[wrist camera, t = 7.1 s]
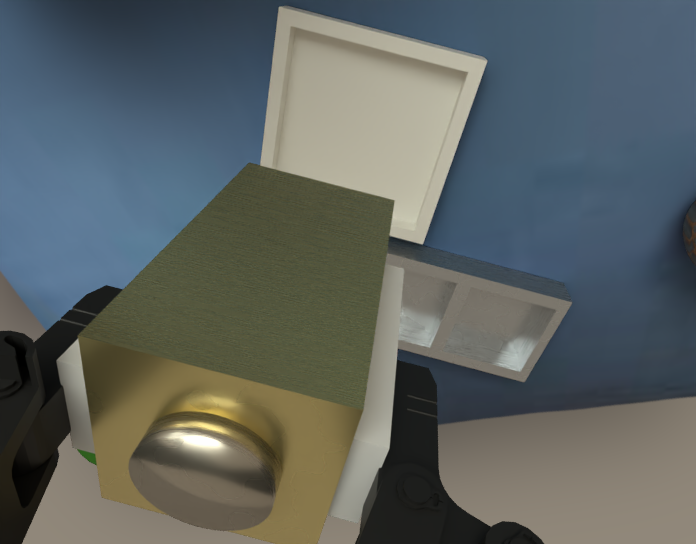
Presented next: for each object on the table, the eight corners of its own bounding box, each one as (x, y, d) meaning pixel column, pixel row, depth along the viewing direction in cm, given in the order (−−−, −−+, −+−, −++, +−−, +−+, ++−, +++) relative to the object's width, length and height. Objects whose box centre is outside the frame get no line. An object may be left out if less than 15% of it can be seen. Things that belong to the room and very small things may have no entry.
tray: (263, 190, 34) (256, 200, 32) (287, 5, 27) (278, 6, 26) (423, 233, 34) (422, 244, 32) (484, 57, 27) (487, 61, 26)
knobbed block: (249, 162, 15) (53, 359, 7) (395, 200, 15) (358, 439, 7) (237, 283, 18) (85, 523, 10) (361, 315, 18) (308, 582, 10)
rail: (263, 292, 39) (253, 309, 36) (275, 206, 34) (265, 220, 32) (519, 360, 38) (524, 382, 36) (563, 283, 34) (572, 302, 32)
